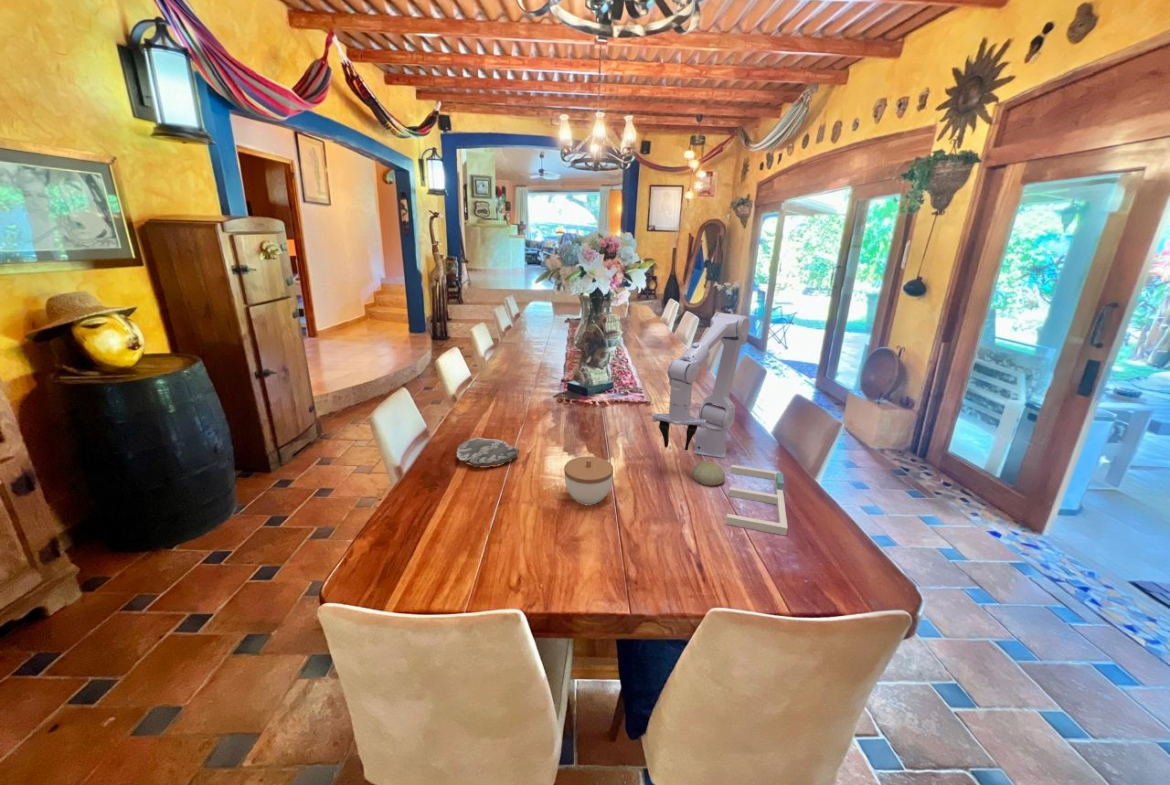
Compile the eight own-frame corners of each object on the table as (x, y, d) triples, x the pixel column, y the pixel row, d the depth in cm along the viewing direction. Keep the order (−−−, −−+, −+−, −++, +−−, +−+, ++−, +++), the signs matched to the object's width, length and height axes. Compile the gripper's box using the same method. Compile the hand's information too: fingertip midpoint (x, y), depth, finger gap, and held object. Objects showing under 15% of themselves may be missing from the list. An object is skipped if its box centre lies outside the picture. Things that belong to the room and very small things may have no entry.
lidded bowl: (577, 516, 115) (577, 476, 111) (556, 492, 125) (556, 455, 122) (621, 503, 120) (622, 465, 117) (597, 481, 131) (598, 446, 127)
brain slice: (441, 463, 141) (441, 454, 140) (478, 442, 156) (478, 434, 155) (493, 478, 133) (493, 469, 132) (527, 455, 147) (527, 446, 146)
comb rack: (726, 524, 112) (727, 509, 111) (730, 470, 138) (732, 458, 137) (786, 535, 108) (788, 520, 107) (779, 478, 134) (781, 465, 133)
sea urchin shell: (726, 467, 136) (727, 458, 129) (723, 493, 133) (724, 485, 126) (694, 462, 139) (693, 453, 132) (690, 488, 136) (689, 480, 129)
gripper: (651, 404, 127) (648, 449, 132) (705, 410, 123) (701, 457, 128) (656, 396, 134) (653, 439, 138) (707, 402, 129) (703, 446, 134)
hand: (676, 447), depth 133 cm, fingers open, 5 cm apart
